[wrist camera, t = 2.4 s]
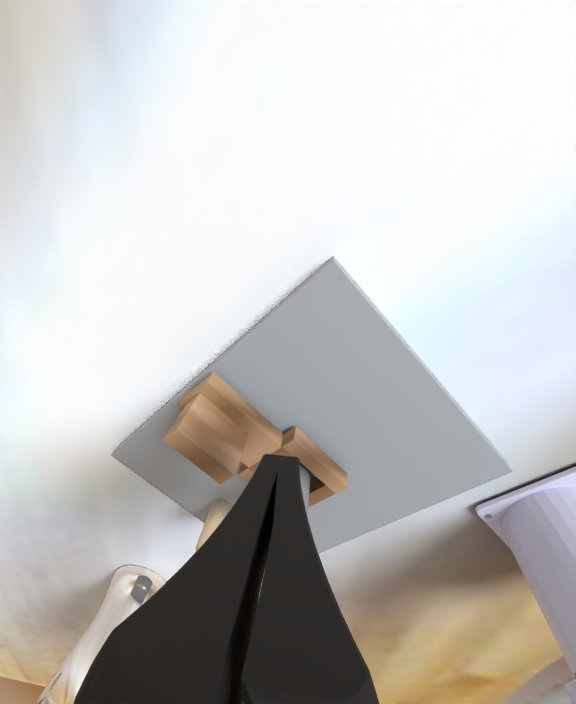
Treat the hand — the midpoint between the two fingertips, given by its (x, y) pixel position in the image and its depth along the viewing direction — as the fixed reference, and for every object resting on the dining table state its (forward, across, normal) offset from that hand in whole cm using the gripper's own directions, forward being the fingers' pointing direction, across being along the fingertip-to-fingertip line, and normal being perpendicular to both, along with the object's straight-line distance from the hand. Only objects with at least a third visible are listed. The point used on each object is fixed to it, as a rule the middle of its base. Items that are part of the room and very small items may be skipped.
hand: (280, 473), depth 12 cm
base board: (+9, 0, +8) cm, 12 cm away
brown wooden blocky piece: (+7, +2, +5) cm, 9 cm away
